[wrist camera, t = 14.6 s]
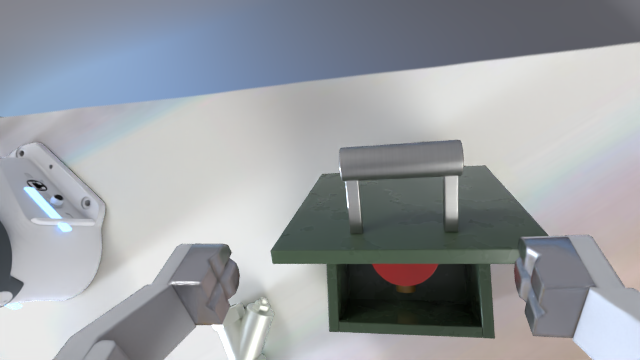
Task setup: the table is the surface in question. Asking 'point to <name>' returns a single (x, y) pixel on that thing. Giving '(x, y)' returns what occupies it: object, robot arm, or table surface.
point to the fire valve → (405, 274)
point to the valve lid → (406, 211)
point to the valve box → (412, 302)
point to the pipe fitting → (246, 330)
